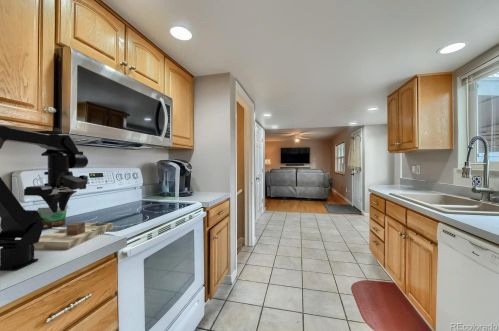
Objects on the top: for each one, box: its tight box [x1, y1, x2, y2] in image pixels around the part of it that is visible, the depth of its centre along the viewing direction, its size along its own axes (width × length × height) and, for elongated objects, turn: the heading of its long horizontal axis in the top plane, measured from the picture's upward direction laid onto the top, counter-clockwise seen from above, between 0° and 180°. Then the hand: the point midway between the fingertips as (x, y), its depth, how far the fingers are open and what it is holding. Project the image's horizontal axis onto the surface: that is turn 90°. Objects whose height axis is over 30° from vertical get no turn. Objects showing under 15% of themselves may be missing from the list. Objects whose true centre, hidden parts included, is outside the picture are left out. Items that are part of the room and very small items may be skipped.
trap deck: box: [33, 222, 114, 250], centre depth 88 cm, size 24×16×3 cm, turn 179°
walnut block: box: [66, 221, 86, 235], centre depth 85 cm, size 4×4×4 cm
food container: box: [36, 204, 69, 230], centre depth 102 cm, size 12×6×10 cm, turn 168°
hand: (58, 211), depth 77 cm, fingers open, 3 cm apart
